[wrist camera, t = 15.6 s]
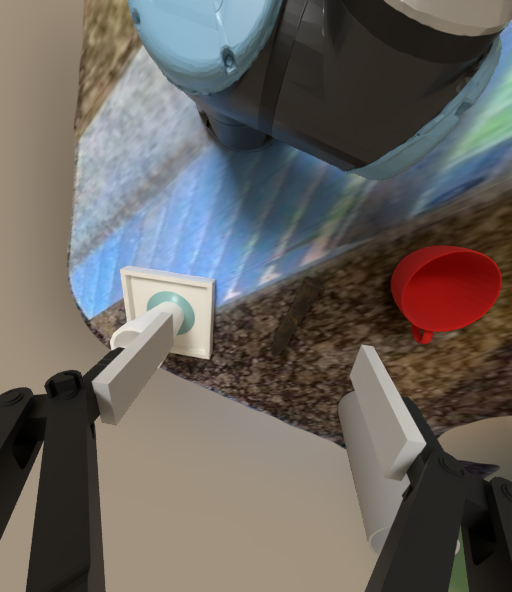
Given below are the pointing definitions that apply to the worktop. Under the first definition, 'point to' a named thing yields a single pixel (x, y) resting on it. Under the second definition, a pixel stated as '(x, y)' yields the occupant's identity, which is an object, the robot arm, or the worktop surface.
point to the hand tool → (296, 313)
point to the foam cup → (146, 324)
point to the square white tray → (178, 289)
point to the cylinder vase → (370, 476)
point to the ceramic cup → (444, 288)
